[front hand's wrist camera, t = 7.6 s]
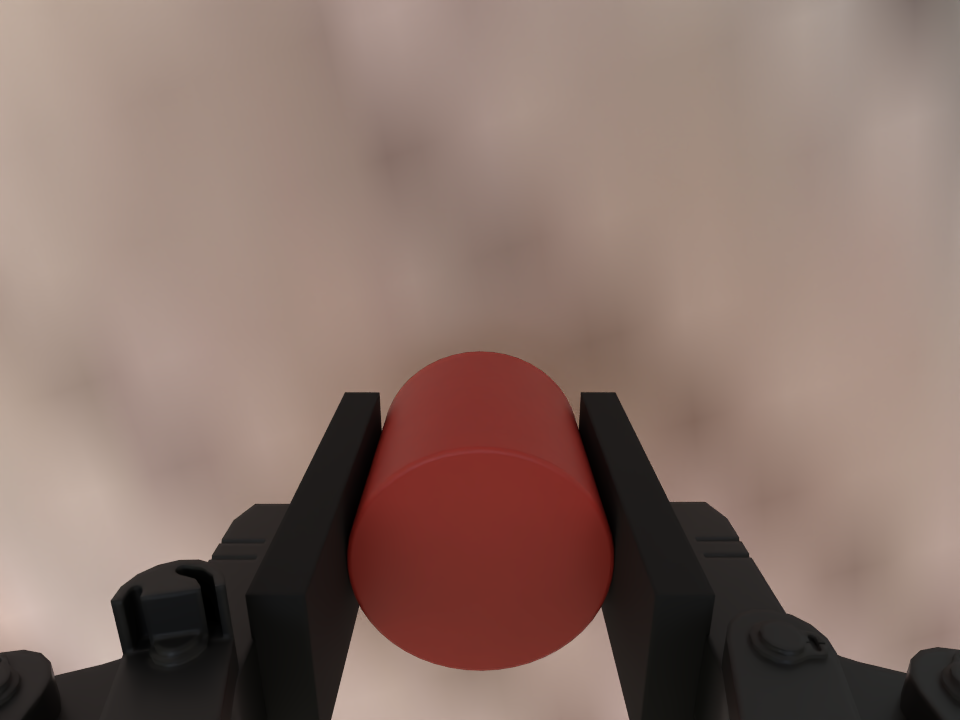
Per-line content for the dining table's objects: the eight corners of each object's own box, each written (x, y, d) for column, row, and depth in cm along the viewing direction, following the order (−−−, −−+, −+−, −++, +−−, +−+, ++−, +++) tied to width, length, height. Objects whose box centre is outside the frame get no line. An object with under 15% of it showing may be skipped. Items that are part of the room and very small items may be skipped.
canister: (358, 488, 15) (312, 628, 11) (422, 320, 14) (397, 408, 10) (531, 546, 16) (549, 702, 12) (609, 391, 15) (663, 504, 10)
